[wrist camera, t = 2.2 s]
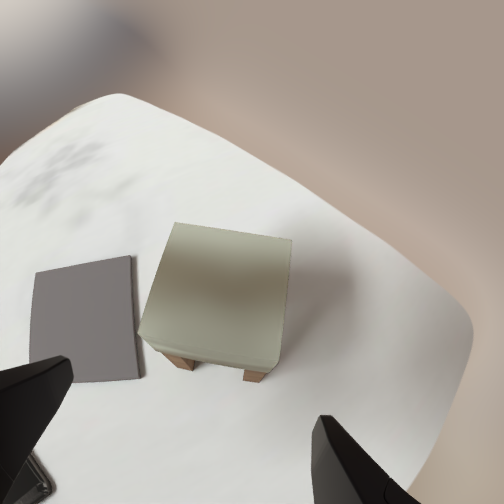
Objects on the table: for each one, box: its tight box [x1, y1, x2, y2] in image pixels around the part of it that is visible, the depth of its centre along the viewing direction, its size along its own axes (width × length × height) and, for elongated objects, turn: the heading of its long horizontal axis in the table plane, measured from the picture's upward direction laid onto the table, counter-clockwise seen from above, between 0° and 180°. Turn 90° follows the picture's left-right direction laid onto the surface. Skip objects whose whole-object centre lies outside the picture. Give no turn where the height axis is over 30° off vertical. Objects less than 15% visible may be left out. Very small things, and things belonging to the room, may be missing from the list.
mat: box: [29, 255, 141, 383], centre depth 21 cm, size 11×11×1 cm
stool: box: [137, 222, 292, 383], centre depth 17 cm, size 6×6×10 cm
